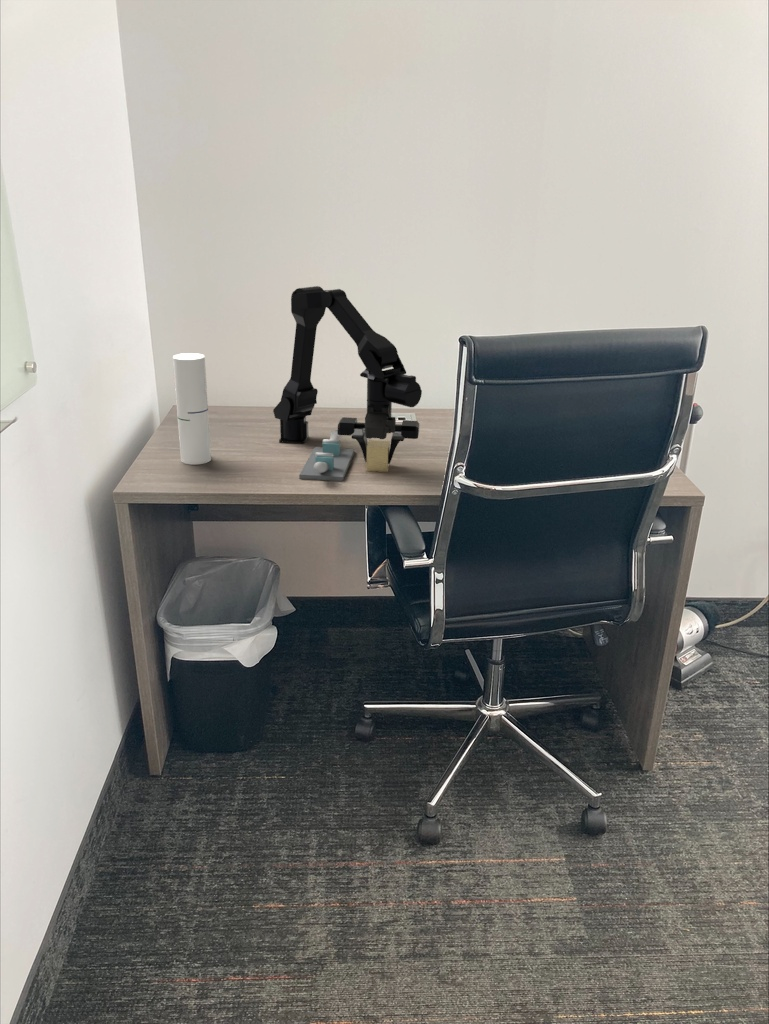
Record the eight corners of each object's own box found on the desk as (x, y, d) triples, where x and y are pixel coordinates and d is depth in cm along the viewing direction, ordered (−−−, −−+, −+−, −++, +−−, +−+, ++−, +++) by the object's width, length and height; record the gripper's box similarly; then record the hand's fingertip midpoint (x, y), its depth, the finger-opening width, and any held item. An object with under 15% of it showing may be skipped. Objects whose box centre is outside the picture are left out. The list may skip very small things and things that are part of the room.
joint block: (366, 471, 190) (366, 446, 188) (368, 463, 195) (369, 440, 192) (387, 472, 190) (388, 447, 187) (389, 465, 194) (390, 441, 192)
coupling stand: (296, 483, 182) (296, 461, 180) (316, 447, 205) (316, 427, 203) (340, 485, 181) (340, 464, 179) (355, 449, 205) (356, 429, 203)
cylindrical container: (210, 464, 192) (204, 359, 182) (180, 465, 191) (171, 360, 181) (211, 454, 198) (205, 352, 189) (181, 455, 197) (173, 353, 188)
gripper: (333, 406, 179) (334, 472, 185) (417, 410, 177) (415, 476, 183) (341, 393, 189) (341, 456, 195) (420, 396, 188) (418, 460, 194)
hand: (378, 462), depth 192 cm, fingers closed on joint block, 5 cm apart
